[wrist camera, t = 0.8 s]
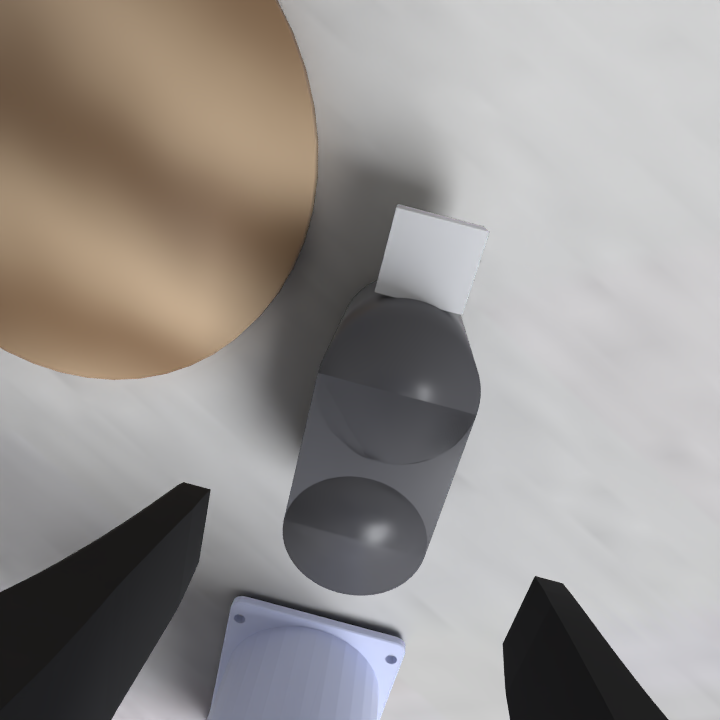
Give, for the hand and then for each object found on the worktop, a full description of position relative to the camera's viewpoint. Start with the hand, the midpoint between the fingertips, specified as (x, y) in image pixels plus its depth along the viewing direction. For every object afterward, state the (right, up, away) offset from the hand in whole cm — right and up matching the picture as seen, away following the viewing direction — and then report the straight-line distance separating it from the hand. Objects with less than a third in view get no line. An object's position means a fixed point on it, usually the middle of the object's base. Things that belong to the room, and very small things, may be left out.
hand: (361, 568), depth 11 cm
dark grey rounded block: (+1, +4, +8) cm, 9 cm away
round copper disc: (-9, +12, +6) cm, 16 cm away
